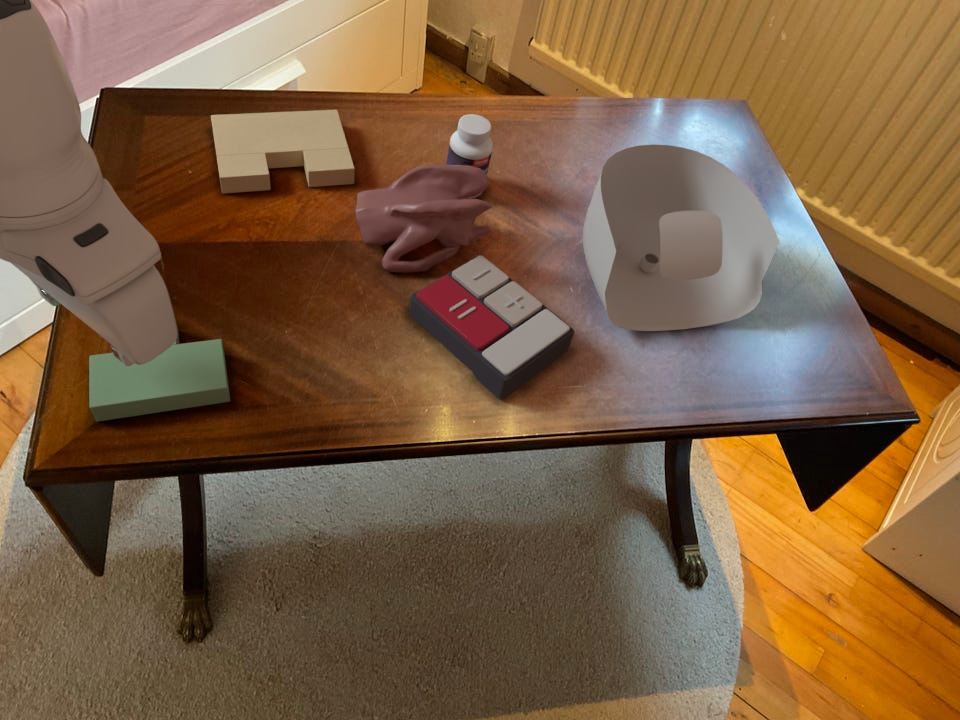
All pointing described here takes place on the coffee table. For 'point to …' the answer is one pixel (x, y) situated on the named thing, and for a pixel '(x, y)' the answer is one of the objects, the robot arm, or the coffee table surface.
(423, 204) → the figurine
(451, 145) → the pill bottle
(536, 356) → the calculator
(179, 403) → the green pad
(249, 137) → the beige pad
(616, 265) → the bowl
